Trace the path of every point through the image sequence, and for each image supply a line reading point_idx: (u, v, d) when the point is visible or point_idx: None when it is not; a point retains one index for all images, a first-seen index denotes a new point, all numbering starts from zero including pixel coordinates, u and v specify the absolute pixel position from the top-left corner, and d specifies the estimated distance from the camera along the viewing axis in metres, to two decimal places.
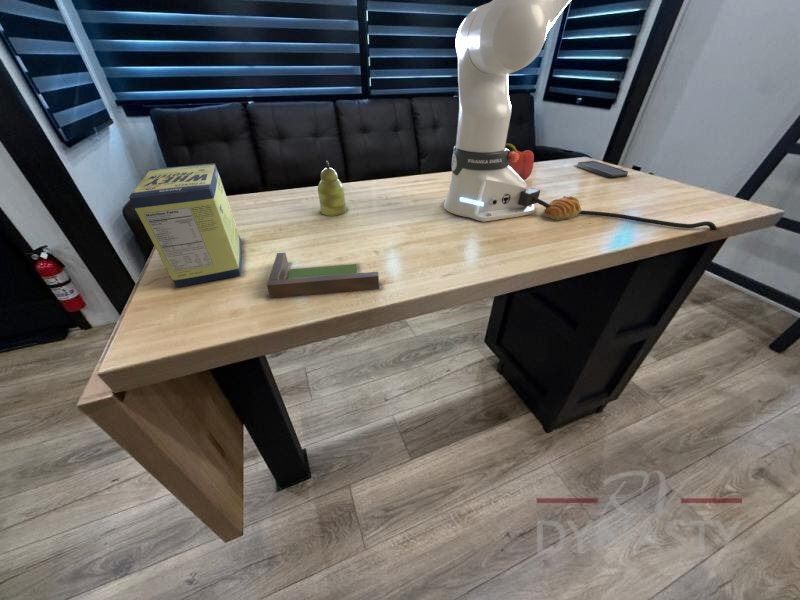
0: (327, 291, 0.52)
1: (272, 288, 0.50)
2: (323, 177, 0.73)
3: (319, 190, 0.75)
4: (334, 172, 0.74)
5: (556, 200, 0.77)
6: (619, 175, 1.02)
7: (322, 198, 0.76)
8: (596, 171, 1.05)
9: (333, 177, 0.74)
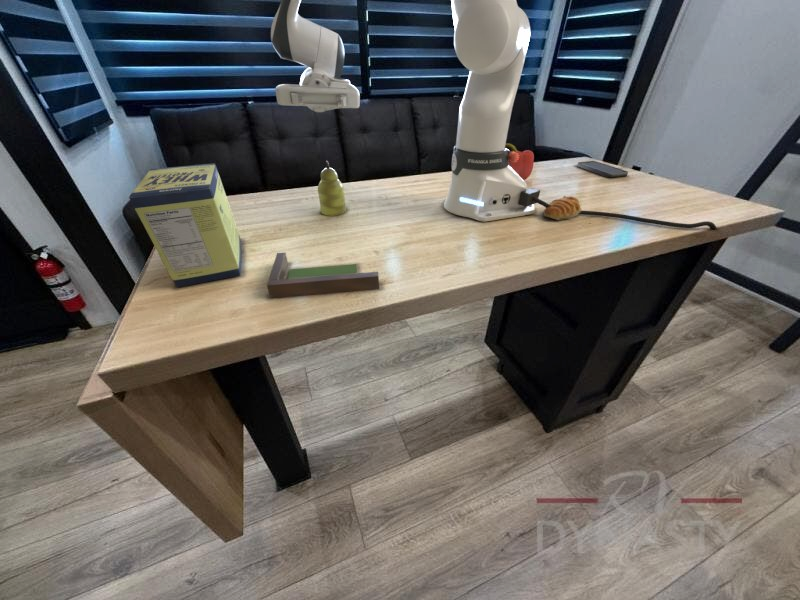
0: (327, 291, 0.52)
1: (272, 288, 0.50)
2: (323, 177, 0.73)
3: (319, 190, 0.75)
4: (334, 172, 0.74)
5: (556, 200, 0.77)
6: (619, 175, 1.02)
7: (322, 198, 0.76)
8: (596, 171, 1.05)
9: (333, 177, 0.74)
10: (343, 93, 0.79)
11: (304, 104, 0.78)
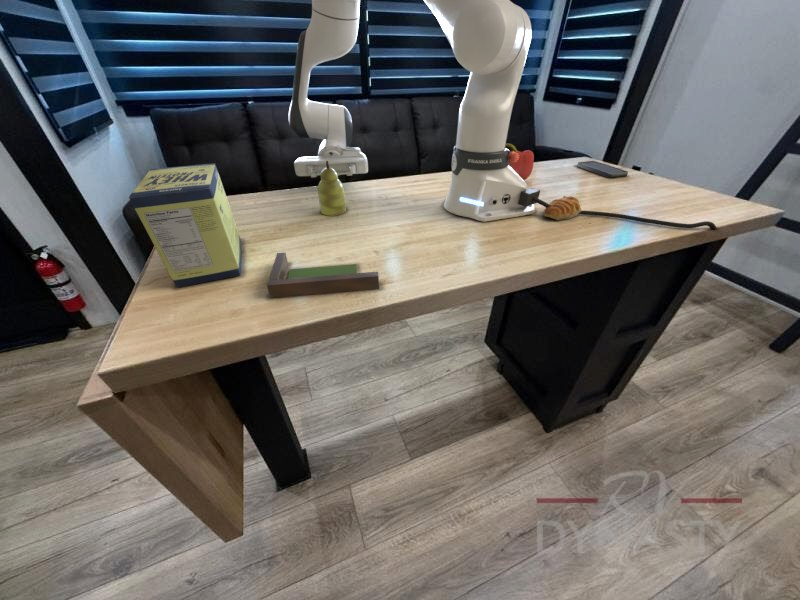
0: (327, 291, 0.52)
1: (272, 288, 0.50)
2: (323, 177, 0.73)
3: (319, 190, 0.75)
4: (334, 172, 0.74)
5: (556, 200, 0.77)
6: (619, 175, 1.02)
7: (322, 198, 0.76)
8: (596, 171, 1.05)
9: (333, 177, 0.74)
10: (352, 162, 0.88)
11: (318, 174, 0.89)
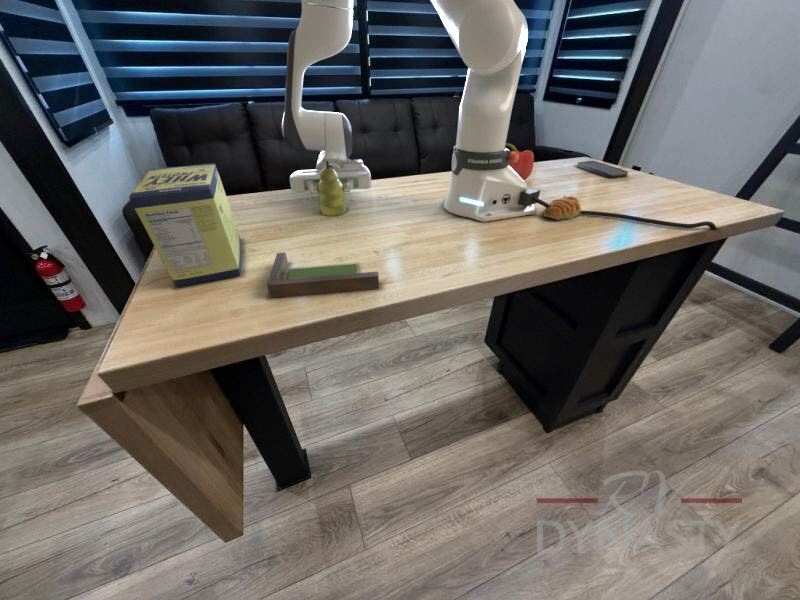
0: (327, 291, 0.52)
1: (272, 288, 0.50)
2: (323, 177, 0.73)
3: (319, 190, 0.75)
4: (334, 172, 0.74)
5: (556, 200, 0.77)
6: (619, 175, 1.02)
7: (322, 198, 0.76)
8: (596, 171, 1.05)
9: (333, 177, 0.74)
10: (354, 177, 0.80)
11: None
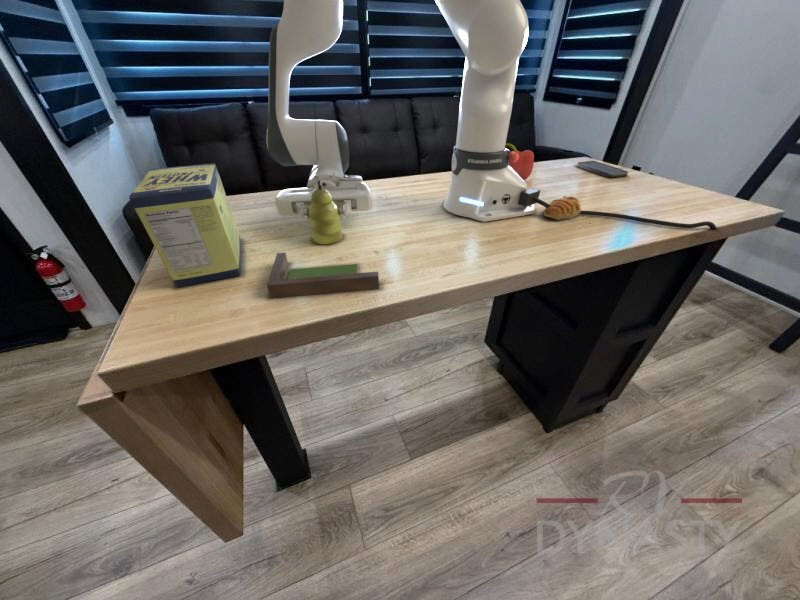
0: (327, 291, 0.52)
1: (272, 288, 0.50)
2: (314, 199, 0.61)
3: (310, 215, 0.63)
4: (327, 194, 0.62)
5: (556, 200, 0.77)
6: (619, 175, 1.02)
7: (313, 224, 0.63)
8: (596, 171, 1.05)
9: (326, 200, 0.61)
10: (352, 197, 0.67)
11: None
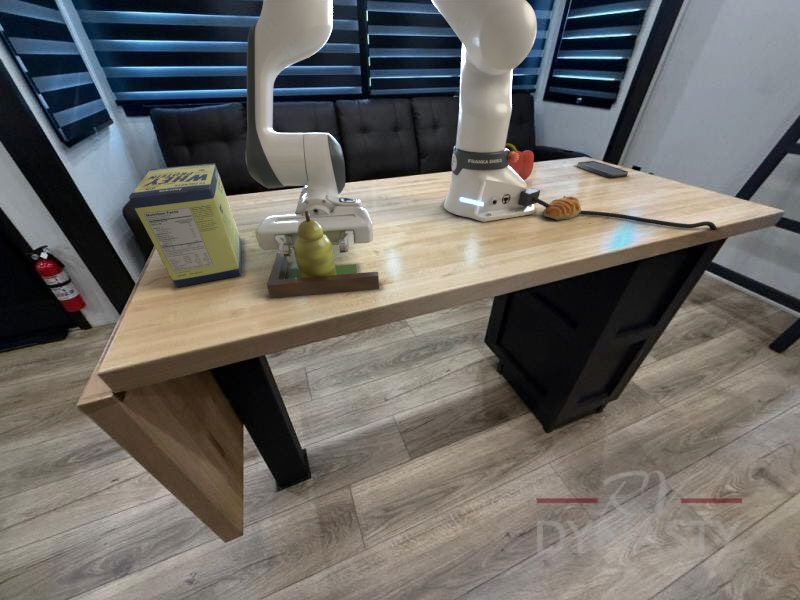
0: (327, 291, 0.52)
1: (272, 288, 0.50)
2: (301, 234, 0.49)
3: (296, 252, 0.51)
4: (317, 227, 0.50)
5: (556, 200, 0.77)
6: (619, 175, 1.02)
7: (300, 263, 0.51)
8: (596, 171, 1.05)
9: (315, 234, 0.49)
10: (349, 228, 0.55)
11: None
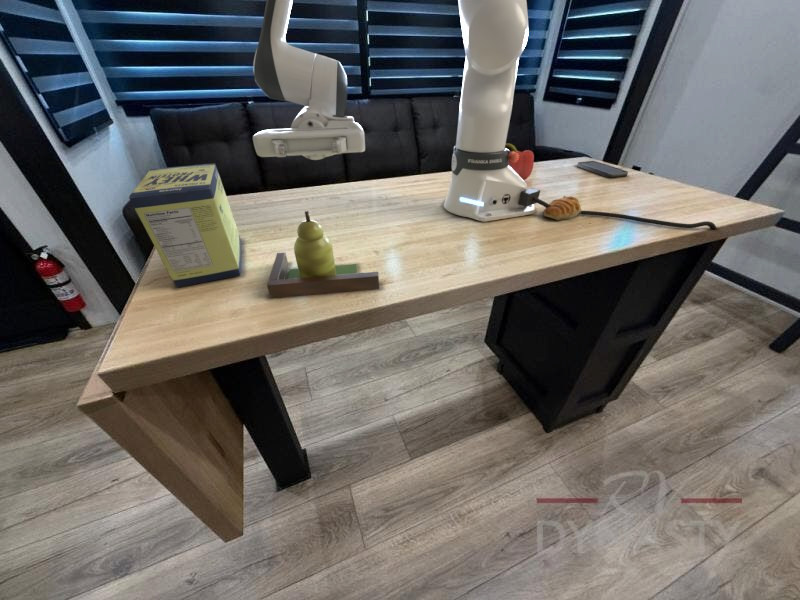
0: (327, 291, 0.52)
1: (272, 288, 0.50)
2: (301, 234, 0.49)
3: (296, 252, 0.51)
4: (317, 227, 0.50)
5: (556, 200, 0.77)
6: (619, 175, 1.02)
7: (300, 263, 0.51)
8: (596, 171, 1.05)
9: (315, 234, 0.49)
10: (341, 135, 0.58)
11: (291, 153, 0.59)
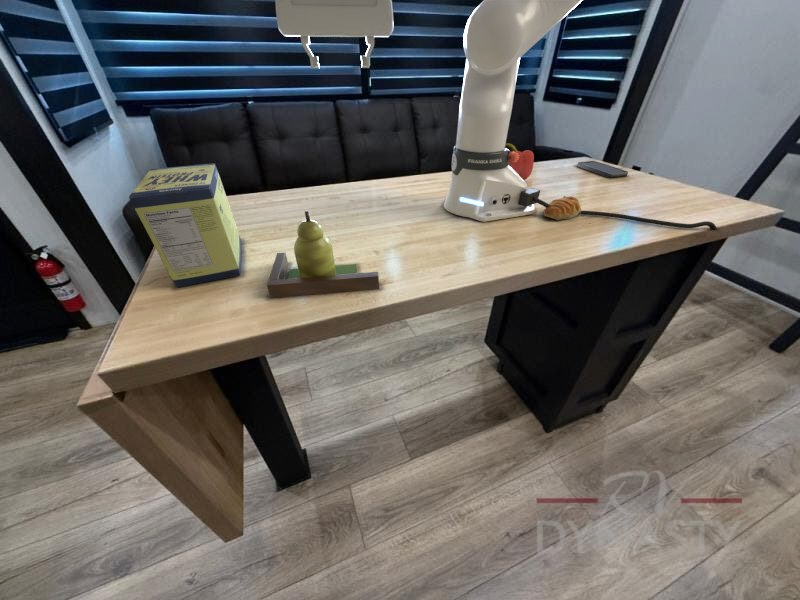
0: (327, 291, 0.52)
1: (272, 288, 0.50)
2: (301, 234, 0.49)
3: (296, 252, 0.51)
4: (317, 227, 0.50)
5: (556, 200, 0.77)
6: (619, 175, 1.02)
7: (300, 263, 0.51)
8: (596, 171, 1.05)
9: (315, 234, 0.49)
10: (371, 35, 0.57)
11: (317, 36, 0.58)
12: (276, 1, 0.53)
